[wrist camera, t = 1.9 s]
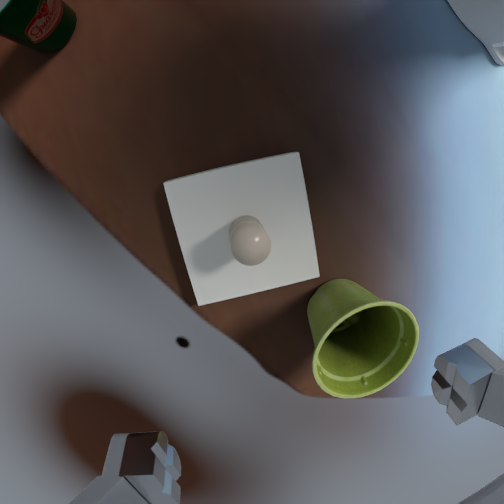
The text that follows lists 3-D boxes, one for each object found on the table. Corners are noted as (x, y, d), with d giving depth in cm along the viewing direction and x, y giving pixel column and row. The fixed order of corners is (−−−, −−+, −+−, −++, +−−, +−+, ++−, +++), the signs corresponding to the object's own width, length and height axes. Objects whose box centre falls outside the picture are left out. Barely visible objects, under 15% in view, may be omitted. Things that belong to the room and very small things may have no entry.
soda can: (64, 58, 21) (-11, 22, 10) (25, 51, 20) (-51, 23, 9) (88, 10, 20) (29, -46, 9) (48, 6, 19) (-17, -40, 8)
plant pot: (296, 354, 33) (319, 411, 25) (281, 275, 30) (305, 323, 22) (377, 330, 33) (415, 376, 25) (373, 251, 30) (421, 287, 22)
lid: (295, 151, 26) (313, 153, 21) (316, 272, 30) (334, 296, 25) (164, 181, 26) (153, 189, 21) (198, 300, 29) (196, 329, 24)
